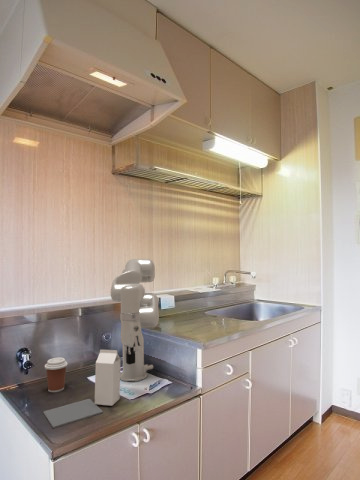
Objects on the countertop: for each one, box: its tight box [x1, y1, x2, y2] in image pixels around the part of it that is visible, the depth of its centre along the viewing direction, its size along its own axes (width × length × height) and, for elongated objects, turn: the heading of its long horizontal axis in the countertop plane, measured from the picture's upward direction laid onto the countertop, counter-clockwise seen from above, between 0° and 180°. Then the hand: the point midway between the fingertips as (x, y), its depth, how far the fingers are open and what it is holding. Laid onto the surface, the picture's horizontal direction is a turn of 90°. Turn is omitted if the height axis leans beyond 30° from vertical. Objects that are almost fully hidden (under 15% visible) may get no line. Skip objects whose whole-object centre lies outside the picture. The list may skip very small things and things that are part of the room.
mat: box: [42, 398, 104, 429], centre depth 116 cm, size 17×13×1 cm
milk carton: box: [94, 349, 121, 406], centre depth 125 cm, size 7×7×19 cm
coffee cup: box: [44, 357, 69, 393], centre depth 137 cm, size 9×9×12 cm
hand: (130, 363), depth 130 cm, fingers closed
